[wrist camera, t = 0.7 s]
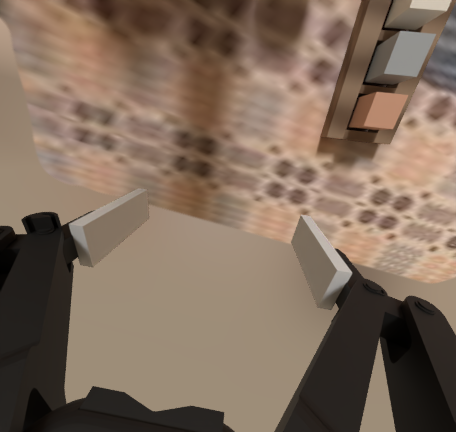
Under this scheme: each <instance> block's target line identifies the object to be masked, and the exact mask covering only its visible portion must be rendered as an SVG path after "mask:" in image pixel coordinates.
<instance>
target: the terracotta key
mask: <svg viewBox="0 0 456 432" xmlns="http://www.w3.org/2000/svg"><path fill="white" fill-rule="evenodd" d="M407 97H408V95H403V94H394V93H384V92H375V93H371V94H368V95H365V96H362V97H359V99H358V102H357V105H356V107H355V110H354V113H353V116H352V119H351V121H350V124H349V127H353V128H362V129H371V130H386V129H393V128H394V126H395V124H396V122H397V119H398V117H399V115H400V113H401V111H402V108H403V106H404V104H405V102H406V100H407Z"/></svg>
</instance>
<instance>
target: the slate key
mask: <svg viewBox="0 0 456 432" xmlns="http://www.w3.org/2000/svg"><path fill="white" fill-rule="evenodd" d="M435 36H436V34H431V33H420V32H408V31H399V32H398V33H396V34H395V35H393V36H392V37H390V38H389V39H387V40H386V41H384V42H383V43H381V44H380V45H378V46H377V48H376V51H375V54H374V57H373V60H372V62H371V65H370V68H369V71H368V74H367V76H366V79H365V82H369V83H379V84H389V85H394V84H397V83H400V82H403V81H406V80H409V79H412V78H415V77H417V75H418V73H419V71H420V69H421V67H422V64H423V62H424V60H425V58H426V56H427V53H428V51H429V49H430V47H431V45H432V42H433V40H434V38H435Z"/></svg>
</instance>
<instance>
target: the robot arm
mask: <svg viewBox="0 0 456 432" xmlns="http://www.w3.org/2000/svg"><path fill="white" fill-rule="evenodd" d="M147 219H149V207H148V191H147V189H141V188H138V189H136V190H134V191H132V192H130V193H128V194H126V195H124V196H122V197H120V198H118V199H116V200H115V201H113V202H111V203H109V204H107V205H105V206H103V207H101V208H99V209H97V210H94V211H91V212H88V213H86V214H85V215H83V216H80V217H79V218H78V219H75V220H73V221H71V222H69V223H67V224H65V225H63V226H61V224H60V221H59V217H58V214H56V213H54V212H41V213H35V214H32V215H28V216H26V217H24V218H23V219H22V222H23V225H24V227H25V230H26V232H27V234H15V232H14V230H13V228H12V227H10V226H0V432H234V431H233V430H232V429H231V428H230V427H228V426H227V425H225V424H224V423H223V420H224V412H220V411H215V410H210V409H204V408H200V407H195V406H187V407H181V408H175V409H169V410H164V411H157V412H155V411H151V410H150V409H148V408H147V407H145V406H144V405H142V404H141V403H139V402H138V401H136V400H135V399H133V398H132V397H130V396H129V395H128V394H126V393H125V392H119V391H115V390H110V389H104V388H99V387H94V386H93V387H92V389H91V390H90V392H89V393H88V395H87V397H86V398H82V399H79V400H75V401H72V402H70V403H67V404H66V399H65V391H64V384H65V371H66V357H67V345H68V333H69V320H70V307H71V295H72V282H73V268H74V265H73V262H72V261H73V260H74V259H76V258H77V257H78V259H79V262H80V265H83V266H88V267H94V266H95V265H96V264H97V263H98V262H100V261H101V260H102V259H103V258H104V257H105V256H106V255H108V254H109V253H110V252H111V251H112V250H113V249H115V248H116V247H117V246H118V245H119V244H120V243H121V242H123V241H124V240H125V239H126V238H127V237H128V236H129V235H131V234H132V233H133V232H134V231H135V230H136V229H137V228H139V226H140V225H142V224H143V223H144V222H145V221H147ZM291 243H292V245H293V248H294V250H295V252H296V255H297V258H298V260H299V263H300V265H301V267H302V270H303V272H304V275H305V278H306V280H307V283H308V285H309V288H310V290H311V292H312V295H313V297H314V300H315V302H316V305H317V307H318V308H323V309H328V310H331V309H332V308H333V306H334V304H335V303H336V304H337V306H338V308H339V310H338V312H337V313H336V315H335V316H334V318H333V320H332V322H331V325H330V327H329V329H328V331H327V332H326V334H325V336H324V338H323V340H322V342H321V344H320V346H319V348H318V349H317V351H316V354H315V355H314V357H313V359H312V361H311V363H310V365H309V367H308V369H307V370H306V372H305V374H304V376H303V378H302V380H301V382H300V384H299V386H298V388H297V390H296V391H295V393H294V395H293V398H292V399H291V401H290V403H289V405H288V407H287V409H286V411H285V413H284V414H283V417H282V418H281V420H280V422H279V424H278V426H277V428H276V430H275V432H359V430H360V425H361V421H362V416H363V411H364V407H365V402H366V397H367V393H368V388H369V383H370V378H371V374H372V369H373V365H374V360H375V355H376V350H377V345H378V341H379V338H380V344H381V349H382V355H383V361H384V366H385V372H386V378H387V384H388V389H389V395H390V401H391V407H392V412H393V418H394V424H395V430H396V432H456V335H455V333H454V332H453V330H452V328H451V326H450V325H449V323H448V321H447V319H446V318H445V316H444V315H443V314H442V312H441V311H440V310H438V309H437V308H436V307H435V306H434V305H433V304H430V303H429V302H428V301H426V300H423V299H421V298H418V297H415V296H408V297H406V299H405V300H404V301H400V300H397V299H395V298H392V297H389V296H388V295H387V293H386V291H385V290H384V289H383V288H382V287H381V286H379V285H378V284H376V283H375V282H373V281H370V280H368V279H364V278H363V277H362V276H361V274H360V273H359V272H358V270H357V269H356V268H355V267H354V266H353V265H352V263H351V262H350V261H349V259H348V258H347V257H346V255H345V254H344V253H342V252H341V251H340V250H338V249H335V248H334V247H333V246H332V245H331V243H330V242H329V241H328V239H327V238H326V237H325V235H324V234H323V233H322V231H321V230H320V229H319V227H318V226H317V225H316V223H315V222H314V221H313V219H312V218H311V217H310V216H306V215H301V216H300V219H299V221H298V224H297V227H296V230H295V233H294V236H293V239H292V241H291Z"/></svg>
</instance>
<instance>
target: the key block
mask: <svg viewBox="0 0 456 432" xmlns="http://www.w3.org/2000/svg"><path fill="white" fill-rule="evenodd" d="M391 1H392V0H362V2H361V5H360V8H359V11H358V15H357V18H356V21H355V25H354V28H353V31H352V35H351V38H350V41H349V45H348V48H347V51H346V54H345V58H344V61H343V64H342V68H341V71H340V74H339V78H338V81H337V84H336V88H335V91H334V94H333V98H332V101H331V104H330V107H329V111H328V114H327V117H326V121H325V124H324V127H323V131H322V134H321V137H327V138H335V139H344V140H352V141H361V142H369V143H378V144H390V143H391V141H392V139H393V137H394V134H395V132H396V130H397V128H398V126H399V124H400V121H401V119H402V117H403V115H404V113H405V111H406V108H407V106H408V104H409V102H410V100H411V98H412V95H413V93H414V91H415V89H416V87H417V85H418V83H419V80H420V78H421V76H422V74H423V72H424V70H425V67H426V65H427V63H428V61H429V59H430V57H431V54H432V52H433V50H434V48H435V46H436V44H437V41H438V39H439V37H440V35H441V33H442V31H443V29H444V26H445V24H446V22H447V20H448V18H449V16H450V13H451V11H452V9H453V7H454V5H455V3H456V0H452V1H451V3H450V5H449V7H448V9H447V11H446V12H444V13H443V14H441V15H439V16H438V17H436V18H434V19H433V20H431V21H430V22H428V23H426V24H425V25H423V26H421V27H420V28H418V29H417V30H408V32H420V33H431V34H436V36H435V38H434V40H433V42H432V45H431V47H430V49H429V51H428V53H427V56H426V58H425V60H424V62H423V64H422V67H421V69H420V71H419V73H418V75H417V77H415V78H412V79H409V80H406V81H403V82H400V83H397V84H394V85H389V84H387V85H386V87H379V86H369V85H362V83H363V80H364V77H365V74H366V71H367V69H368V66H369V63H370V60H371V57H372V54H373V52H374V50H376V48H377V46H378V45H380V44H381V43H383V42H384V41H386V40H387V39H389V38H390V37H392V36H393V35H395V34H396V33H398V31H387V30H381V29H382V26H383V23H384V20H385V18H386V15H387V12H388V9H389V6H390V3H391ZM375 92H384V93H394V94H403V95H408V97H407V100H406V102H405V104H404V106H403V108H402V111H401V113H400V115H399V117H398V119H397V122H396V124H395V126H394V128H393V129H386V130H371V129H369V130H368V132H362V131H353V130H346V128H347V125H348V123H349V120H350V117H351V114H352V111H353V108H354V105H355V103H356V100H357V97H362V96H365V95H368V94H371V93H375Z"/></svg>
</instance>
